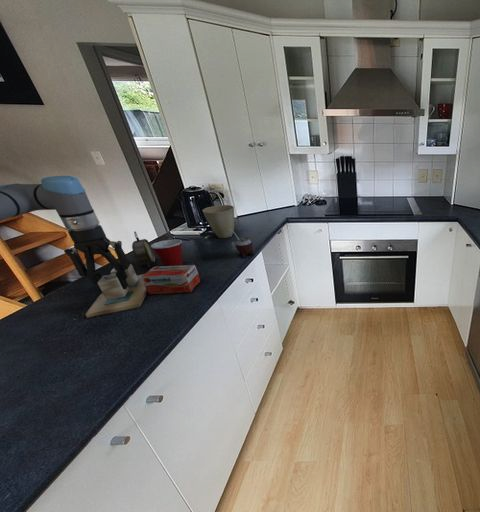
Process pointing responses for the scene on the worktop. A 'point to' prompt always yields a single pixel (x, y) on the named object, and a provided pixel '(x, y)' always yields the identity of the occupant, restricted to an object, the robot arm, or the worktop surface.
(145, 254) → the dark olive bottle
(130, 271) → the tile
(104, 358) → the worktop surface
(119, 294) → the tile
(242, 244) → the mate gourd
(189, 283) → the medicine box
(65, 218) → the robot arm
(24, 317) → the worktop surface
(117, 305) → the beige flat board
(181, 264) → the plastic cup
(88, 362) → the worktop surface
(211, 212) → the plant pot
